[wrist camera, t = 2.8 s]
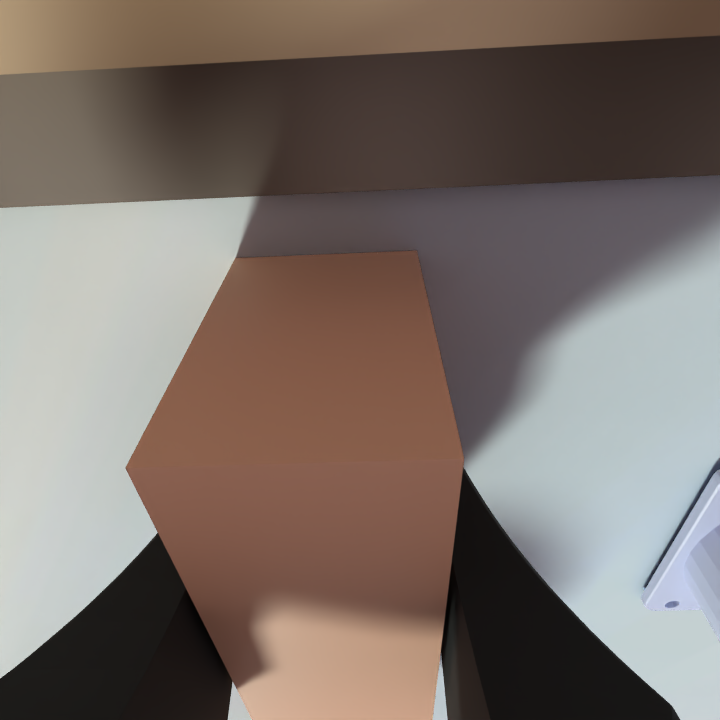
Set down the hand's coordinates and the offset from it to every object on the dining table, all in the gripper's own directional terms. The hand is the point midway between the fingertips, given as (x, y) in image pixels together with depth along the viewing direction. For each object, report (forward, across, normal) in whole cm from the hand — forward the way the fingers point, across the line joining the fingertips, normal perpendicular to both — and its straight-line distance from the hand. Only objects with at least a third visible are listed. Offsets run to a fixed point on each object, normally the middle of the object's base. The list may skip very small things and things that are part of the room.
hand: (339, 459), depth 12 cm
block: (+1, 0, 0) cm, 1 cm away
